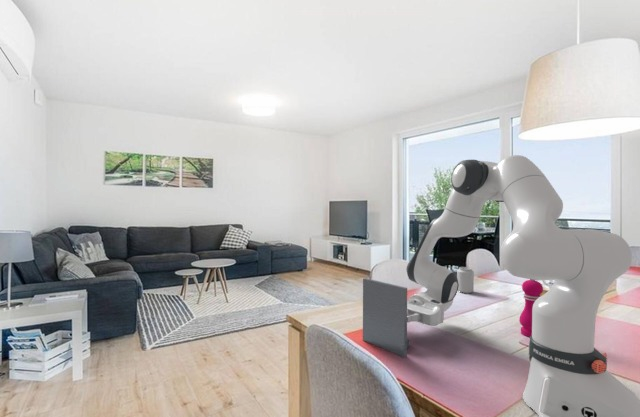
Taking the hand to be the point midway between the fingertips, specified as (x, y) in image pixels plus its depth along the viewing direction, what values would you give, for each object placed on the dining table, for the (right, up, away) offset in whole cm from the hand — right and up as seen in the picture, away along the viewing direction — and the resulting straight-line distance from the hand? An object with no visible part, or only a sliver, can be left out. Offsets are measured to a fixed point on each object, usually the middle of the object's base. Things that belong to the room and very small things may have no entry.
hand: (395, 316), depth 107 cm
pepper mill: (+47, -9, +7) cm, 49 cm away
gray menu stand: (-2, -8, -1) cm, 9 cm away
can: (+48, -7, +60) cm, 77 cm away
